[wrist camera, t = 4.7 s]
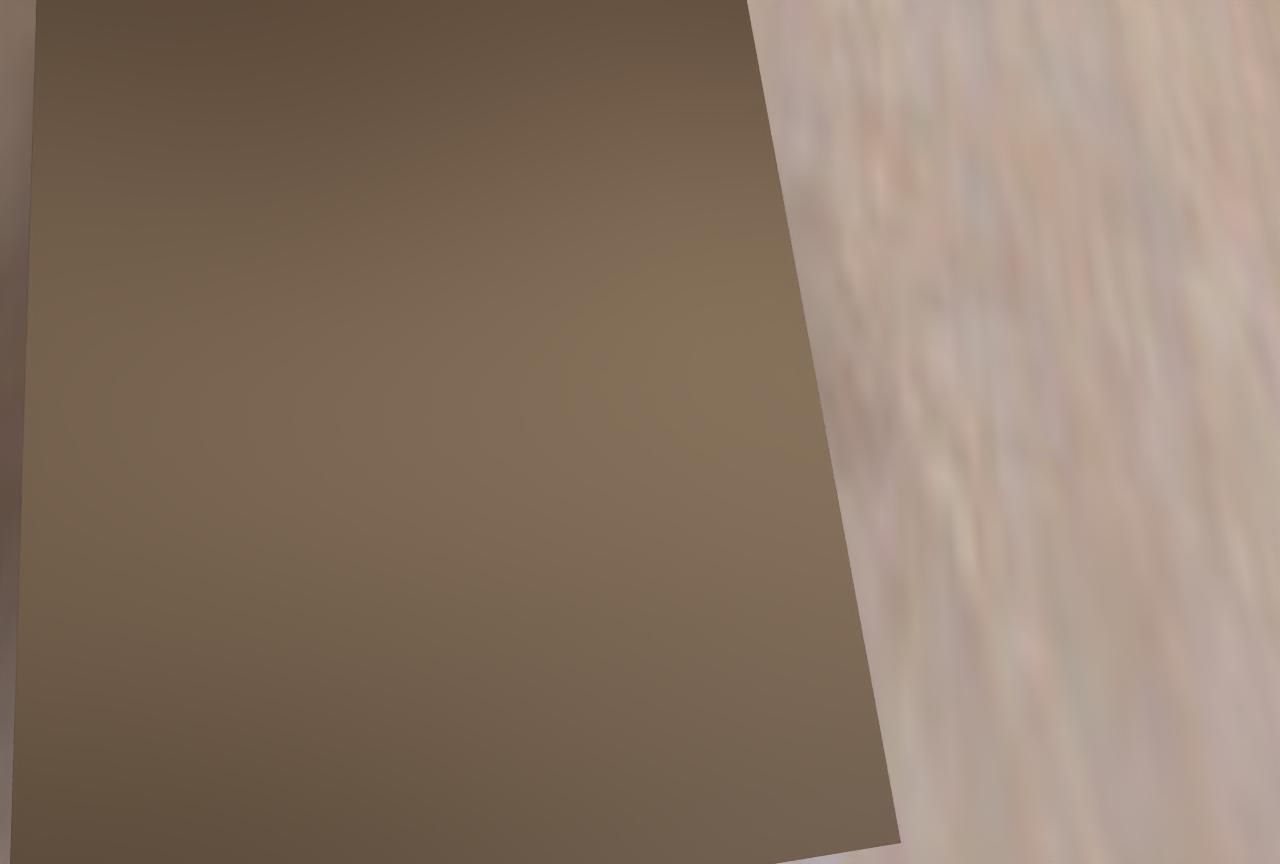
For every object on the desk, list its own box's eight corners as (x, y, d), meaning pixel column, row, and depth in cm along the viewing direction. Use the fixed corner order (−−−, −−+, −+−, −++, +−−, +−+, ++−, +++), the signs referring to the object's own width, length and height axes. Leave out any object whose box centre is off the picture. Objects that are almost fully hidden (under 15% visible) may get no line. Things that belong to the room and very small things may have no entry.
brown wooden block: (645, 683, 16) (899, 842, 4) (457, 709, 16) (4, 990, 3) (584, 201, 18) (608, -750, 6) (418, 214, 18) (59, -765, 5)
